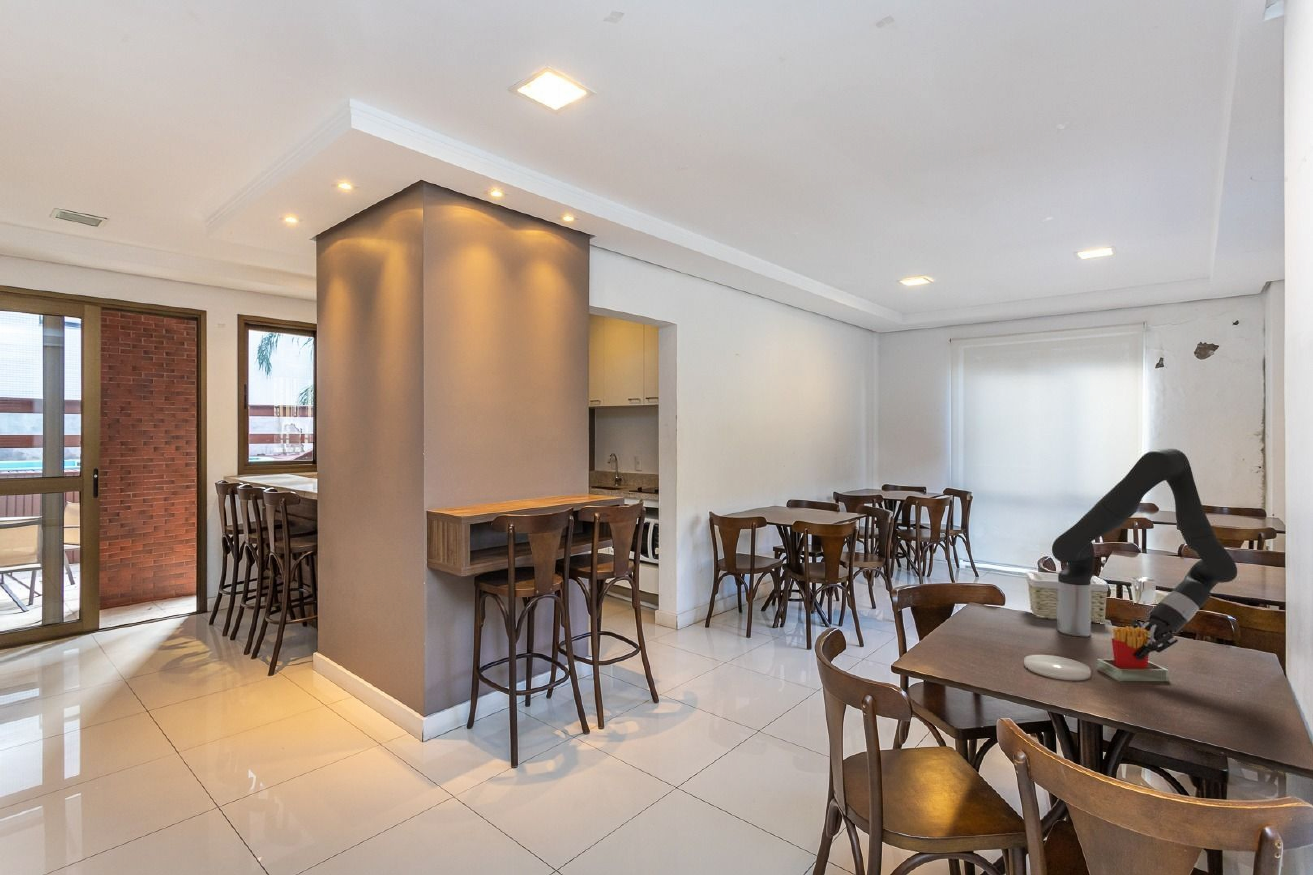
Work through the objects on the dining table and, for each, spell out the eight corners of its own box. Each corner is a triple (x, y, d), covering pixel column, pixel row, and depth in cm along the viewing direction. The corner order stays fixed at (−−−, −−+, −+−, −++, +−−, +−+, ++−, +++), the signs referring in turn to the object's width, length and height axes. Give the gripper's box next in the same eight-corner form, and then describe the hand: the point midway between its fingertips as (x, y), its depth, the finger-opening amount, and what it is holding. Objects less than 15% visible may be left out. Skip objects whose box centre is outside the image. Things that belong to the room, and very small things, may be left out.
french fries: (1118, 676, 172) (1118, 629, 172) (1109, 670, 176) (1108, 625, 176) (1154, 677, 171) (1154, 630, 171) (1144, 672, 175) (1144, 626, 175)
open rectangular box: (1096, 669, 177) (1096, 658, 177) (1144, 669, 177) (1144, 658, 177) (1118, 680, 169) (1118, 669, 169) (1169, 681, 169) (1169, 670, 169)
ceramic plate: (1012, 659, 185) (1012, 654, 185) (1066, 659, 185) (1066, 654, 185) (1045, 680, 169) (1045, 674, 169) (1104, 680, 169) (1104, 674, 169)
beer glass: (1127, 618, 227) (1126, 577, 228) (1139, 616, 230) (1139, 576, 230) (1147, 623, 221) (1147, 581, 221) (1160, 621, 223) (1160, 580, 223)
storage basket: (1031, 618, 228) (1031, 578, 228) (1025, 607, 243) (1024, 570, 243) (1110, 626, 219) (1109, 584, 219) (1097, 614, 234) (1097, 575, 234)
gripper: (1144, 595, 180) (1102, 637, 180) (1185, 609, 166) (1140, 654, 166) (1162, 613, 180) (1121, 655, 180) (1205, 628, 166) (1160, 674, 166)
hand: (1130, 654), depth 173 cm, fingers closed on french fries, 4 cm apart
